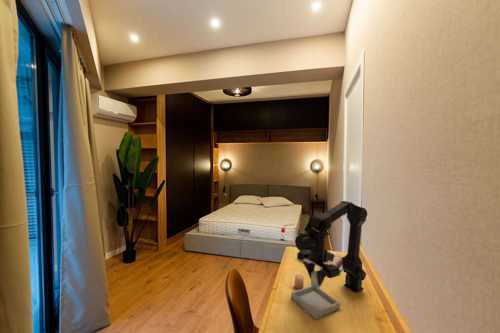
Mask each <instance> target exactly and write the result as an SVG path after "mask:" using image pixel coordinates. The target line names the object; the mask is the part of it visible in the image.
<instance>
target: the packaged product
mask: <svg viewBox="0 0 500 333" xmlns="http://www.w3.org/2000/svg"><path fill="white" fill-rule="evenodd" d="M334 255H335V256H334V259H333V262H331V261H328V262H324V264H327V265H329V264H332V265H334V266H336V267H338V268H339V269H340V273H342V272H343V267H342V258H343V257H344V256H341V255H339V254H334Z"/></svg>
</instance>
